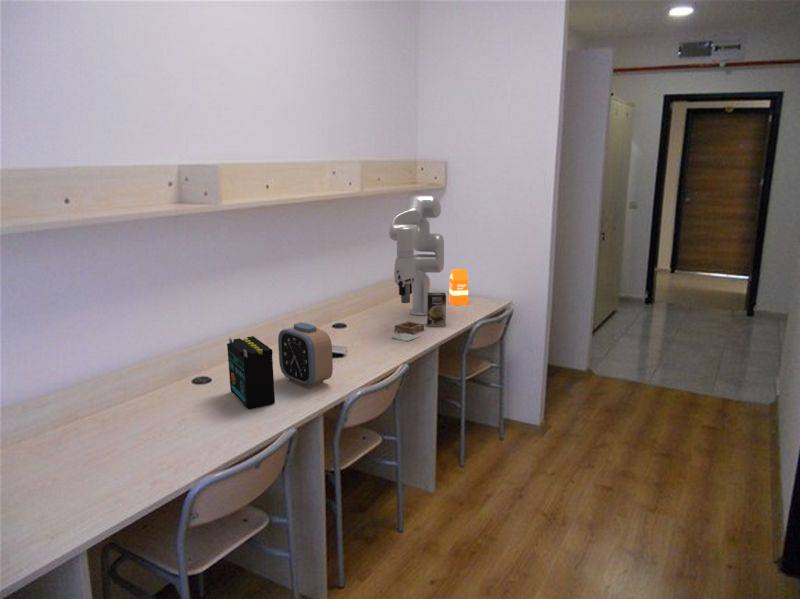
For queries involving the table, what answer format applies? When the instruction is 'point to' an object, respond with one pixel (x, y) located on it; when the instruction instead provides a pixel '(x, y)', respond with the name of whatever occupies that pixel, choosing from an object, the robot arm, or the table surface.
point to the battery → (251, 372)
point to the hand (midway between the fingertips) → (405, 294)
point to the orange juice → (458, 287)
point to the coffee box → (436, 310)
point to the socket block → (409, 327)
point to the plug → (406, 292)
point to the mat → (406, 337)
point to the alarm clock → (305, 355)
